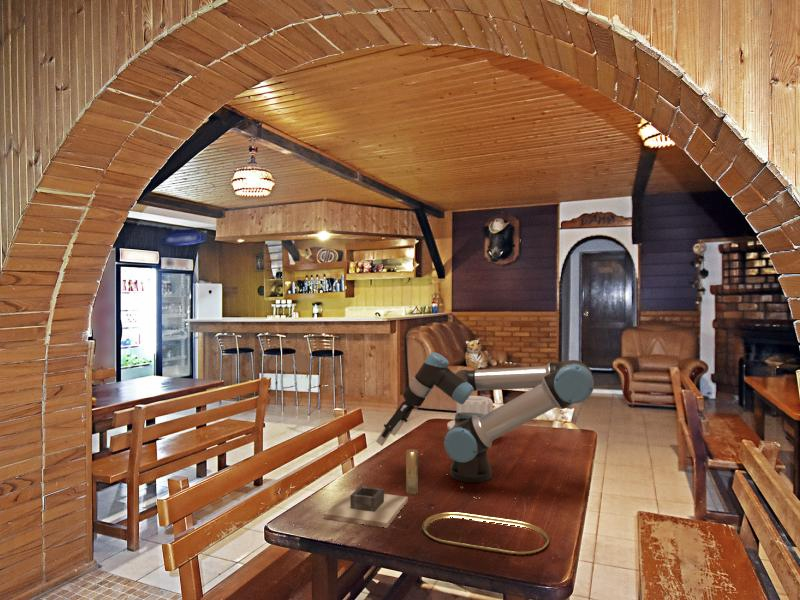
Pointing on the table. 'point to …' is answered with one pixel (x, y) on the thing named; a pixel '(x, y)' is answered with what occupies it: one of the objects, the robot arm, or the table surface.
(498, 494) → the table surface
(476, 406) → the flanged gear
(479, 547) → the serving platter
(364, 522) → the socket board
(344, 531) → the table surface
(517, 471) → the table surface
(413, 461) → the brass post
